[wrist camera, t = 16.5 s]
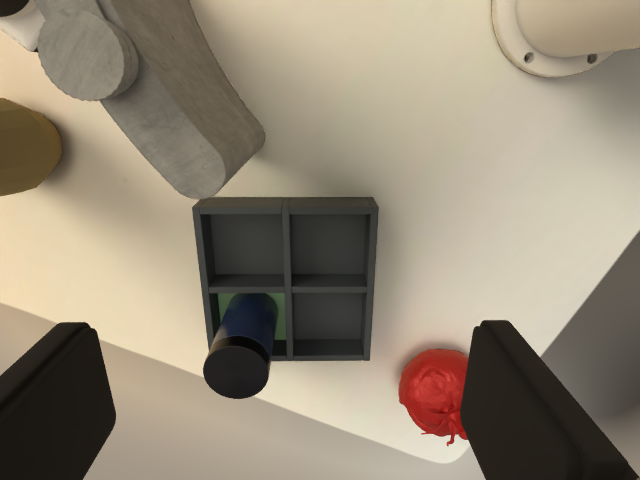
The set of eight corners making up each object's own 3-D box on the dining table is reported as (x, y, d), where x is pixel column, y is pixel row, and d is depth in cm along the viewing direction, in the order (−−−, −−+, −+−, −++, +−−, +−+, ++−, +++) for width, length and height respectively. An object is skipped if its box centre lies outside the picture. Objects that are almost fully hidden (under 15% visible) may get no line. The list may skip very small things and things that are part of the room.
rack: (373, 197, 39) (378, 207, 36) (365, 340, 46) (369, 360, 42) (202, 197, 39) (191, 207, 36) (217, 341, 45) (209, 361, 42)
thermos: (277, 289, 42) (267, 345, 33) (279, 333, 44) (270, 398, 35) (225, 289, 42) (199, 346, 33) (229, 333, 44) (206, 399, 35)
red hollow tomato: (419, 324, 45) (444, 380, 36) (492, 355, 46) (533, 416, 38) (377, 387, 48) (391, 453, 39) (447, 414, 50) (475, 483, 41)
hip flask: (271, 142, 37) (227, 194, 19) (234, 162, 38) (157, 232, 19) (172, -33, 32) (-23, -201, 14) (132, -6, 33) (-106, -132, 14)
